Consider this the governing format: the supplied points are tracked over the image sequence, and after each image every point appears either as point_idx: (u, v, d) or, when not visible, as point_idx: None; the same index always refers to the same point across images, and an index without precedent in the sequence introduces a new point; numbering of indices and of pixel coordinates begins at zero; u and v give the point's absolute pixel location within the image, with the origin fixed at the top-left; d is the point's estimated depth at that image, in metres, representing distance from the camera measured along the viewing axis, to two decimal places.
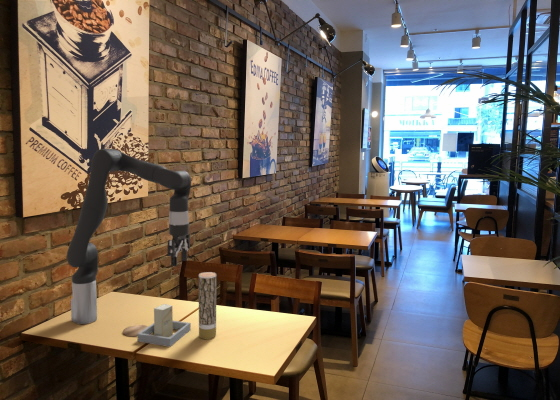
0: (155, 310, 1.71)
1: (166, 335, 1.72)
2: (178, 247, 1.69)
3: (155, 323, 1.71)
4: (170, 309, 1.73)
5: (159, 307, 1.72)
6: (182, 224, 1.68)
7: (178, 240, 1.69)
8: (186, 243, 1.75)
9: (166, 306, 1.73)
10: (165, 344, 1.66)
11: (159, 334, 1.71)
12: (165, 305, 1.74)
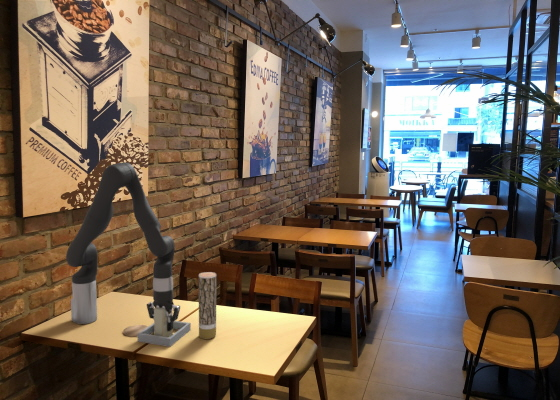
0: (155, 310, 1.71)
1: (166, 335, 1.72)
2: (171, 311, 1.73)
3: (155, 323, 1.71)
4: None
5: None
6: None
7: None
8: None
9: None
10: (165, 344, 1.66)
11: (159, 334, 1.71)
12: None
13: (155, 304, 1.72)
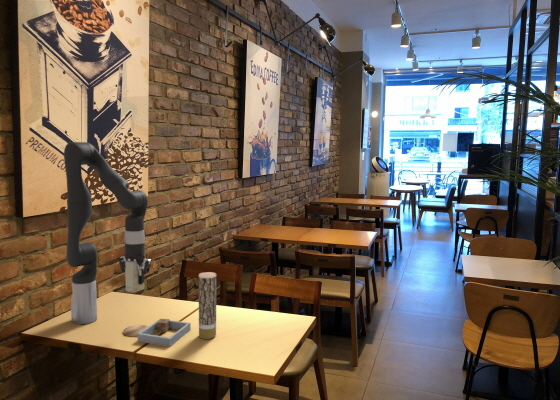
0: (126, 263, 1.73)
1: (137, 288, 1.75)
2: None
3: (126, 276, 1.74)
4: None
5: None
6: None
7: None
8: None
9: None
10: (165, 344, 1.66)
11: (130, 287, 1.73)
12: None
13: (127, 257, 1.75)
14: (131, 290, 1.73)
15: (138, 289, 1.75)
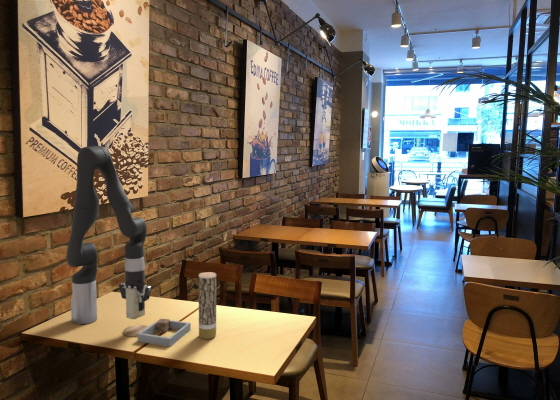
0: (127, 290, 1.74)
1: (138, 315, 1.76)
2: (143, 291, 1.77)
3: (127, 303, 1.75)
4: None
5: None
6: None
7: None
8: None
9: None
10: (165, 344, 1.66)
11: (131, 314, 1.74)
12: None
13: (127, 284, 1.76)
14: (132, 317, 1.74)
15: (139, 316, 1.76)
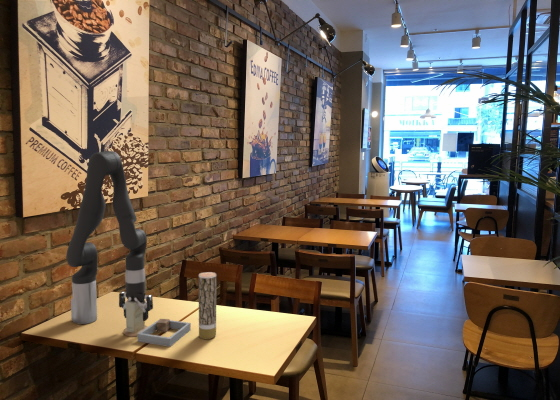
0: (127, 304, 1.75)
1: (138, 328, 1.77)
2: (145, 301, 1.78)
3: (127, 316, 1.76)
4: (142, 303, 1.78)
5: (131, 301, 1.77)
6: None
7: None
8: None
9: None
10: (165, 344, 1.66)
11: (131, 327, 1.75)
12: None
13: (127, 296, 1.77)
14: (132, 330, 1.75)
15: (139, 329, 1.77)
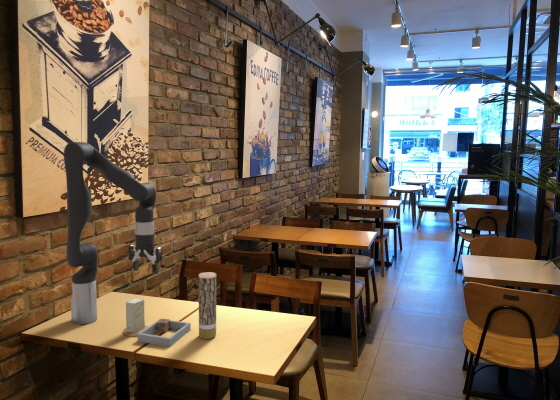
0: (127, 304, 1.75)
1: (138, 328, 1.77)
2: (154, 254, 1.80)
3: (127, 316, 1.76)
4: (142, 303, 1.78)
5: (131, 301, 1.77)
6: None
7: None
8: None
9: (138, 300, 1.78)
10: (165, 344, 1.66)
11: (131, 327, 1.75)
12: (137, 299, 1.79)
13: (137, 248, 1.79)
14: (132, 330, 1.75)
15: (139, 329, 1.77)
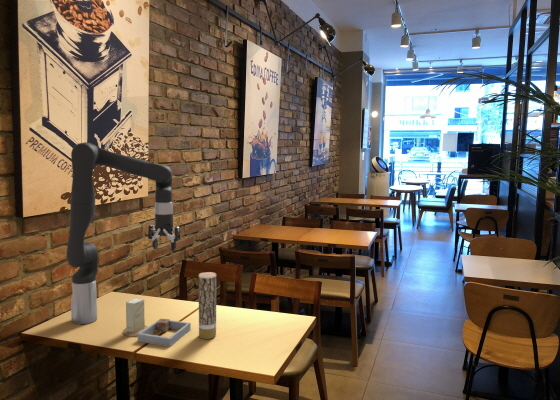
0: (127, 304, 1.75)
1: (138, 328, 1.77)
2: (172, 233, 1.90)
3: (127, 316, 1.76)
4: (142, 303, 1.78)
5: (131, 301, 1.77)
6: None
7: None
8: None
9: (138, 300, 1.78)
10: (165, 344, 1.66)
11: (131, 327, 1.75)
12: (137, 299, 1.79)
13: (156, 227, 1.89)
14: (132, 330, 1.75)
15: (139, 329, 1.77)
